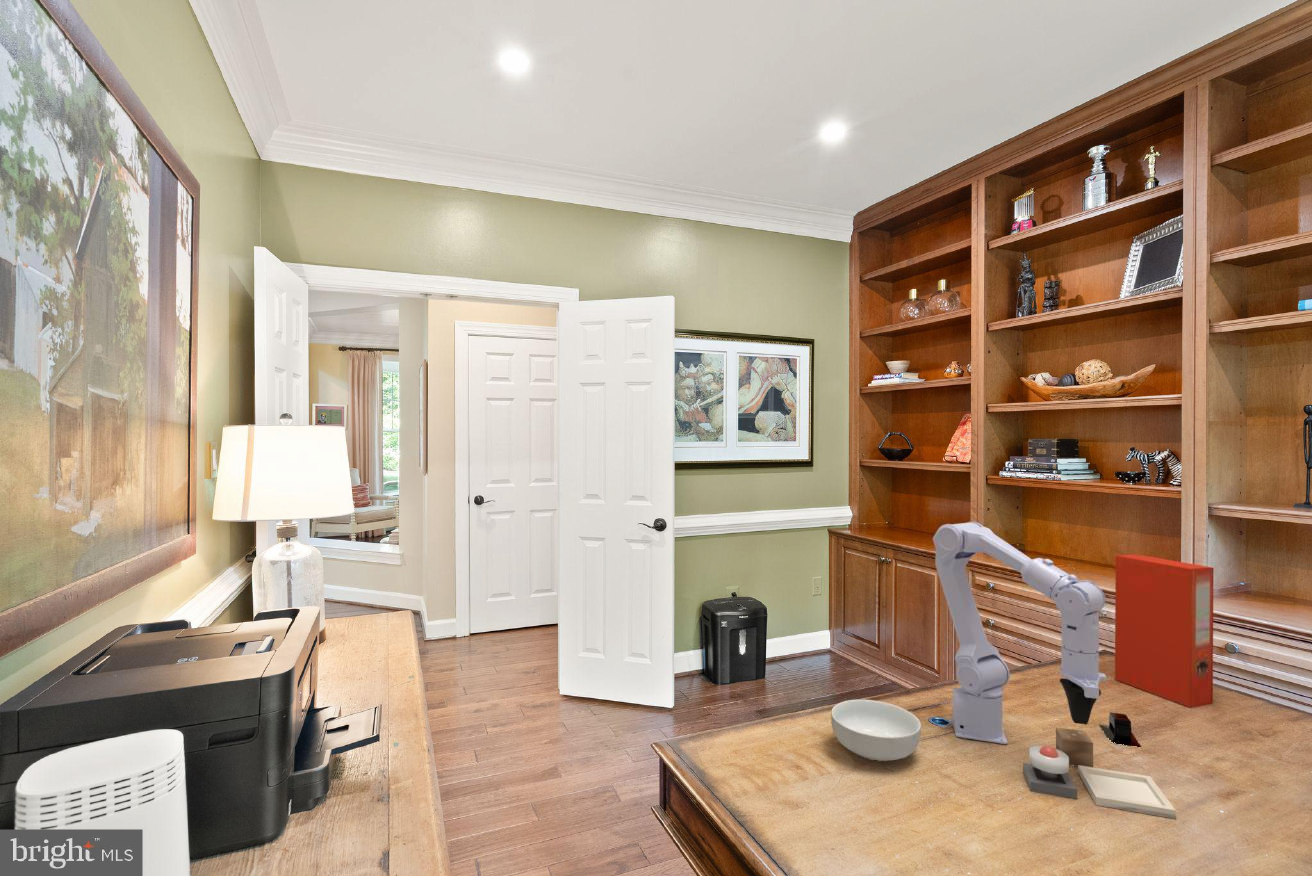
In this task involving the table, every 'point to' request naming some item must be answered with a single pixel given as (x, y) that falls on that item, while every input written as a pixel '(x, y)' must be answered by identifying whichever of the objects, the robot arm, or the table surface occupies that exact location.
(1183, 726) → the table surface
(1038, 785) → the grey button base
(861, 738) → the cereal bowl
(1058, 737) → the die
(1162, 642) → the file binder
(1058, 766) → the dome
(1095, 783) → the die pad
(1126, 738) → the black tapered mount
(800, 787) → the table surface
